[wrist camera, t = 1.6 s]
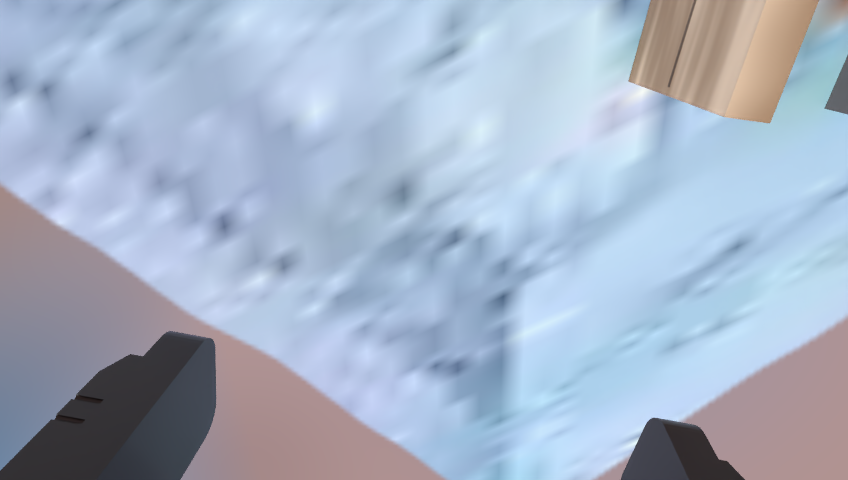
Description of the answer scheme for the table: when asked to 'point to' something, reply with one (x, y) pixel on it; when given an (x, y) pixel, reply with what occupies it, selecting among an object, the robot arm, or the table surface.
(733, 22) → the maple domino
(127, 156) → the table surface
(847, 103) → the charcoal domino
